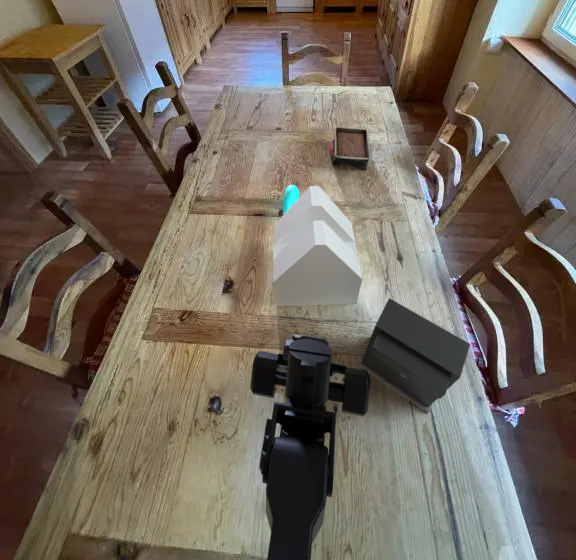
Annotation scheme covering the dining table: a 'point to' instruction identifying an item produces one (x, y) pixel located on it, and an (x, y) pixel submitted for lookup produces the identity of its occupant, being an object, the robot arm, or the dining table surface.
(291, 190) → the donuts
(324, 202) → the white house shaped block
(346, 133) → the square planter box
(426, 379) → the coffee maker
